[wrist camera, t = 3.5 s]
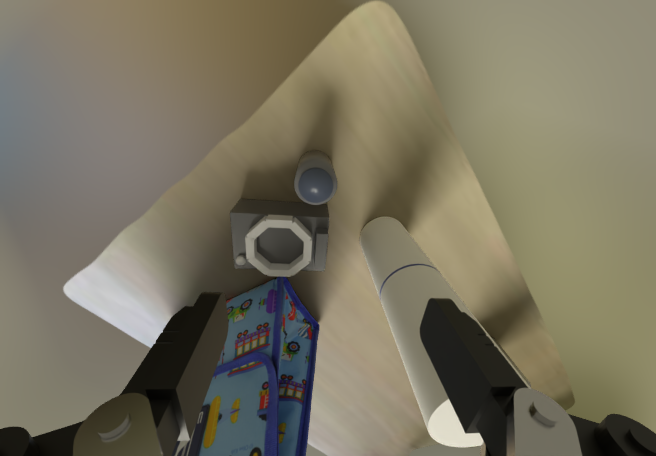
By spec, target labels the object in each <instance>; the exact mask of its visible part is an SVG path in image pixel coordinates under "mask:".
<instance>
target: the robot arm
mask: <svg viewBox="0 0 656 456" xmlns="http://www.w3.org/2000/svg"><path fill="white" fill-rule="evenodd" d="M228 327H229V323H228V314H227V305H226V296H225V293H216V292H203V293H201V294H200V296H199V298H198V299H197V301H196V303H195V304H194V306H193V307H189V306H185V307H184V308H182V309H181V310H180V311H179V312H177V313H176V314H175V315H174V316H173V317H171V319H170V321H169V322H168V324H167V325H166V327H165V328H164V330H163V333H161V334H160V336H159V337H158V339H157V340H156V343H155V344H154V345H153V346H152V348H151V349H150V351H149V353H148V354H147V356H146V357H145V359H144V360H143V362H142V363H141V365H140V366H139V368H138V369H137V371H136V372H135V374H134V375H133V377H132V378H131V380H130V381H129V383H128V384H127V386H126V387H125V389H124V390H123V392H122V393H121V394H120V395H119V396H117V397H115V398H112V399H111V400H109V401H107V402H105V403H104V404H102V405H101V406H99V407H98V408H97V409H96V410H94V412H92V413H91V414H90V415H89V416H88V417H87V418H86V420H84V421H82V422H79V423H76V424H73V425H70V426H67V427H64V428H61V429H58V430H54V431H51V432H48V433H45V434H42V435H38V436H35V437H31V436H30V434H29V433H28V431H27V430H25V429H24V428H21V427H7V428H3V429H0V456H171V455H172V453H173V450H174V448H175V445H176V443H177V441H187V440H190V439H191V436H192V434H193V431H194V428H195V425H196V422H197V420H198V417H199V414H200V411H201V409H202V406H203V403H204V400H205V397H206V395H207V392H208V389H209V386H210V384H211V381H212V378H213V375H214V372H215V370H216V367H217V364H218V361H219V358H220V356H221V353H222V350H223V347H224V345H225V342H226V339H227V335H228ZM420 338H421V341H422V343H423V346H424V348H425V350H426V352H427V354H428V356H429V358H430V360H431V362H432V364H433V367H434V369H435V371H436V373H437V375H438V377H439V379H440V381H441V383H442V385H443V387H444V390H445V392H446V394H447V396H448V398H449V400H450V402H451V404H452V406H453V408H454V411H455V413H456V415H457V417H458V419H459V421H460V423H461V425H462V427H463V429H464V432H465V434H467V433H480V435H481V437H482V439H483V443H482V445H481V452H480V456H656V434H655V433H654V432H652V431H651V430H650V429H648V428H647V427H645V426H643V425H642V424H640V423H639V422H637V421H635V420H633V419H630V418H628V417H626V416H622V415H618V414H610V415H608V416H607V417H606V418H605V419H604V420H603V421H602V422H601V423H600V424H599V423H596V422H592V421H589V420H586V419H582V418H579V417H576V416H572V415H569V414H567V413H566V411H565V410H564V409H563V408H562V407H561V406H560V405H559V404H557V403H556V402H555V401H554V400H552V399H551V398H550V397H548V396H547V395H545V394H543V393H541V392H539V391H537V390H534V389H530V388H528V387H527V386H526V384H525V383H524V382H523V381H522V379H521V378H520V377H519V375H518V374H517V373H516V372H515V370H514V369H513V368H512V366H511V365H510V364H509V363H508V361H507V360H506V359H505V357H504V356H503V355H502V354H501V352H500V351H499V350H498V348H497V347H496V346H494V343H493V342H492V341H491V339H490V338H489V337H488V336H486V333H485V332H484V330H483V329H482V328H481V327H480V325H479V324H478V323H477V322H476V321H475V320H474V319H472V318H471V317H470V316H469V315H467V314H466V313H465V312H461V311H460V310H459V308H458V307H457V306H456V304H455V303H454V302H453V300H451V299H449V298H430V299H429V301H428V303H427V306H426V309H425V312H424V315H423V318H422V321H421V324H420ZM492 339H493V340H494V342H495V343H496V344H497V346H498V347H499V348H500V349H501V351H502V352H503V353H504V354H505V356H506V357H507V358H508V360H509V361H510V362H511V363H512V365H513V366H514V367H515V368H516V370H517V371H518V372H519V373H520V375H521V376H522V377H523V379H524V380H525V381H526V382H527V384H528V385H529V386H530V387H531V384H530V382H529V381H528V380H527V379H526V377H525V376H524V375H523V374H522V372H521V371H520V370H519V369H518V367H517V366H516V365H515V364H514V362H513V361H512V360H511V359H510V357H509V356H508V355H507V354H506V352H505V351H504V350H503V349H502V347H501V346H500V345H499V343H498V342H497V341H496V340H495V338H492Z"/></svg>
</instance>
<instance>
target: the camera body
mask: <svg viewBox="0 0 656 456" xmlns="http://www.w3.org/2000/svg"><path fill="white" fill-rule="evenodd" d="M230 220H231V232H232V243H233V255H234V266H235V268H243V269H258V270H259V271H261V272H262V273H263V274H264V275H266V274H267V276H282V277H291V275H292V276H294V275H295V274H296V273H297V272H299V271H300V270H303V271H324V269H325V265H326V254H327V244H328V227H329V213H328V207H327V204H320V205H312V204H308V203H301V202H284V201H267V200H249V199H240V200H239V201H238V203H237V204H236V205H235V206H234V208H233V209H232V210H231V212H230Z"/></svg>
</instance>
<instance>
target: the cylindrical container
mask: <svg viewBox="0 0 656 456" xmlns="http://www.w3.org/2000/svg"><path fill="white" fill-rule="evenodd" d="M359 240H360V246H361V249H362V251H363V254H364V257H365V260H366V262H367V265H368V268H369V271H370V273H371V276H372V279H373V281H374V284H375V287H376V290H377V292H378V295H379V298H380V301H381V303H382V306H383V309H384V312H385V314H386V317H387V320H388V323H389V325H390V328H391V331H392V333H393V336H394V339H395V342H396V344H397V347H398V350H399V353H400V355H401V358H402V361H403V364H404V366H405V369H406V372H407V375H408V377H409V380H410V383H411V385H412V388H413V391H414V394H415V396H416V399H417V402H418V405H419V407H420V410H421V413H422V416H423V418H424V421H425V424H426V426H427V429H428V432H429V434H430V436H431V437H432V438H433V439H434V440H435V441H437V442H439V443H441V444H443V445H447V446H452V447H473V446H480V445H482V443H483V439H482V437H481V435H480V433H467V434H465V432H464V429H463V427H462V425H461V423H460V421H459V419H458V417H457V415H456V413H455V411H454V408H453V406H452V404H451V402H450V400H449V398H448V396H447V394H446V392H445V390H444V387H443V385H442V383H441V381H440V379H439V377H438V375H437V373H436V371H435V369H434V367H433V364H432V362H431V360H430V358H429V356H428V354H427V352H426V350H425V348H424V346H423V343H422V341H421V338H420V324H421V321H422V318H423V315H424V312H425V309H426V306H427V303H428V301H429V299H430V298H449V299H451V300H453V302H454V303H455V304H456V306H457V307H458V308H459V310H460V311H461V312H465V313H466V314H467V315H469V316H470V317H471V318H472V319H474V320H475V321H476V322H477V323H478V324H479V325H480V327H481V328H482V329H483V330H484V332H485V333H486V336H488V337H489V338H490V339H491V341H492V342H493V343H494V346H496V347H497V348H498V350H499V351H500V352H501V354H502V355H503V356H504V357H505V359H506V360H507V361H508V363H509V364H510V365H511V366H512V368H513V369H514V370H515V372H516V373H517V374H518V375H519V377H520V378H521V379H522V381H523V382H524V383H525V384H526V386H527V387H528V388H530V389H531V387H530V386H529V385H528V384H527V382H526V381H525V380H524V379H523V377H522V376H521V375H520V373H519V372H518V371H517V370H516V368H515V367H514V366H513V365H512V363H511V362H510V361H509V360H508V358H507V357H506V356H505V354H504V353H503V352H502V351H501V349H500V348H499V347H498V346H497V344H496V343H495V342H494V340H493V339H492V338H491V337H490V335H489V334H488V333H487V332H486V330H485V329H484V328H483V326H482V325H481V324H480V323H479V321H478V320H477V319H476V318H475V316H474V315H473V314H472V312H471V311H470V310H469V309H468V307H467V306H466V305H465V304H464V302H463V301H462V300H461V299H460V297H459V296H458V295H457V293H456V292H455V291H454V290H453V288H452V287H451V286H450V285H449V283H448V282H447V281H446V279H445V278H444V277H443V276H442V274H441V273H440V272H439V271H438V269H437V268H436V267H435V266H434V264H433V263H432V262H431V260H430V259H429V258H428V257H427V255H426V254H425V253H424V252H423V250H422V249H421V248H420V247H419V245H418V244H417V243H416V241H415V240H414V239H413V238H412V236H411V235H410V234H409V233H408V231H407V230H406V229H405V228H404V226H403V225H402V224H401V223H400V222H399V221H398V220H396V219H394V218H392V217H379V218H375V219H373V220H371V221H370V222H369V223H367V224H366V225H365V226H364V228H363V229H362V231H361V234H360V238H359Z"/></svg>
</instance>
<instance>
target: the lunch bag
mask: <svg viewBox="0 0 656 456" xmlns="http://www.w3.org/2000/svg"><path fill="white" fill-rule="evenodd" d="M226 305H227V314H228V323H229V327H228V335H227V339H226V342H225V345H224V347H223V350H222V353H221V356H220V358H219V361H218V364H217V367H216V370H215V372H214V375H213V378H212V381H211V384H210V386H209V389H208V392H207V395H206V397H205V400H204V403H203V406H202V409H201V411H200V414H199V417H198V420H197V422H196V425H195V428H194V431H193V434H192V436H191V439H190V440H187V441H177V443H176V445H175V448H174V450H173V453H172V455H171V456H306V448H307V441H308V430H309V422H310V411H311V400H312V390H313V381H314V373H315V362H316V350H317V340H318V334H319V324H318V323H317V321H316V320H315V319H314V318H313V317H312V316H311V315H310V313H309V312H308V310H307V309H306V308H305V306H304V305H303V304H302V303H301V301H300V299H299V298H298V296H297V295H296V293H295V292H294V290H293V288H292V286H291V284H290V283H289V281H288V279H287V278H286V277H282V276H278V277H277V279H273V280H271V281H269V282H267V283H264V284H262V285H260V286H258V287H256V288H254V289H251V290H249V291H247V292H245V293H243V294H241V295H239V296H237V297H234V298H232V299H229V300H227V301H226Z"/></svg>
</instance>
